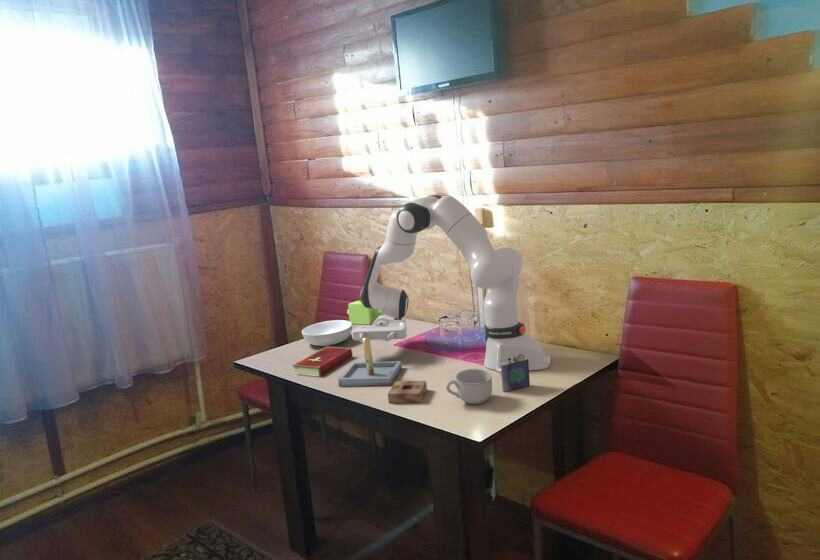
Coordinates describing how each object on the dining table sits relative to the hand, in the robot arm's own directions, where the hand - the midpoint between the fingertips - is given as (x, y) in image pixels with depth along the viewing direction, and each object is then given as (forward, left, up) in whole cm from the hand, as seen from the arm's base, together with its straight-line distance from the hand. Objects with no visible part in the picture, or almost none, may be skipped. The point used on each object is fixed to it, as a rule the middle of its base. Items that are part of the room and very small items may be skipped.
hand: (374, 339), depth 219 cm
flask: (-50, +21, -11) cm, 55 cm away
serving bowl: (+30, -31, -11) cm, 45 cm away
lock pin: (0, +9, -10) cm, 13 cm away
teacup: (-37, +30, -11) cm, 49 cm away
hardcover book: (+22, -4, -11) cm, 25 cm away
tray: (0, +9, -11) cm, 14 cm away
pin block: (-17, +26, -11) cm, 33 cm away
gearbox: (+22, -61, -11) cm, 66 cm away
